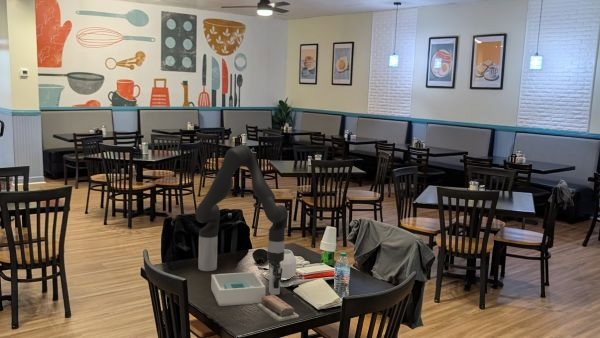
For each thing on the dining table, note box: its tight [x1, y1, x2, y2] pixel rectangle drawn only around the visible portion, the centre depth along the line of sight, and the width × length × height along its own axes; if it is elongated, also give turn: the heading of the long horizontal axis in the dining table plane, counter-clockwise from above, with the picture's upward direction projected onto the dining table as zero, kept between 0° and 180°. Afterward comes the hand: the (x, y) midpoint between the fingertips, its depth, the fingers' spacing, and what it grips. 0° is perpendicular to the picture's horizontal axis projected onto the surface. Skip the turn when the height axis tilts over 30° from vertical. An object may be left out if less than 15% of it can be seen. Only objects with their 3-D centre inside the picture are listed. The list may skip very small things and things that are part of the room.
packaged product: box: [257, 294, 300, 322], centre depth 229 cm, size 18×5×10 cm
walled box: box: [210, 271, 267, 307], centre depth 244 cm, size 20×20×7 cm
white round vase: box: [280, 248, 297, 278], centre depth 269 cm, size 13×13×14 cm
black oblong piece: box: [252, 248, 269, 266], centre depth 294 cm, size 9×11×18 cm
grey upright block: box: [268, 267, 281, 296], centre depth 249 cm, size 4×4×12 cm
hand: (274, 285), depth 249 cm, fingers open, 5 cm apart
